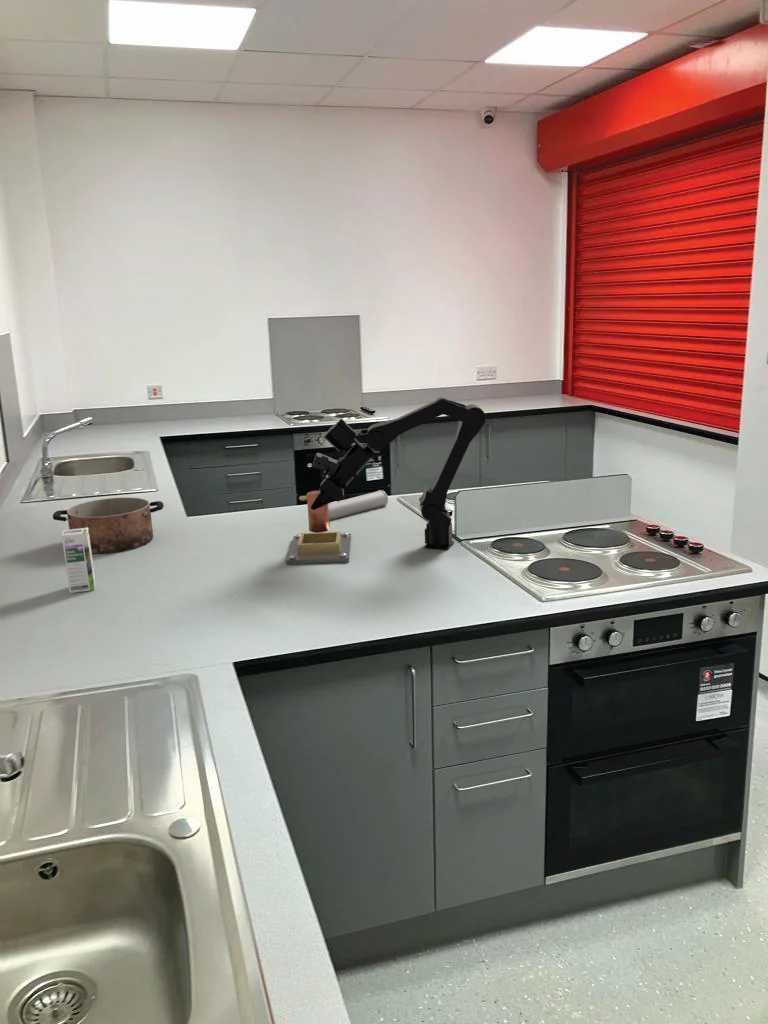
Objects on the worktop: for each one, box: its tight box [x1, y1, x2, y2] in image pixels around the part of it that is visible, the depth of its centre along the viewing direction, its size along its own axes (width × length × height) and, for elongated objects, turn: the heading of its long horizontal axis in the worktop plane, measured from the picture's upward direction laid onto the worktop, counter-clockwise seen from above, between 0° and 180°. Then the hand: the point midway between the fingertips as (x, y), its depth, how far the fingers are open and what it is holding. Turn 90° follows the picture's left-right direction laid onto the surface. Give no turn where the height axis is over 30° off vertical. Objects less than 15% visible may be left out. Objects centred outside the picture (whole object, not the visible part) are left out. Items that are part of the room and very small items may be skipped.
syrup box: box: [61, 527, 96, 594], centre depth 196 cm, size 6×6×14 cm
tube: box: [328, 489, 389, 521], centre depth 257 cm, size 5×5×25 cm
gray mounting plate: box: [285, 531, 352, 566], centre depth 220 cm, size 16×22×4 cm
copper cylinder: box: [298, 490, 331, 533], centre depth 217 cm, size 8×6×10 cm
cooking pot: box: [52, 496, 165, 555], centre depth 234 cm, size 30×22×11 cm
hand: (312, 505), depth 217 cm, fingers closed on copper cylinder, 5 cm apart
